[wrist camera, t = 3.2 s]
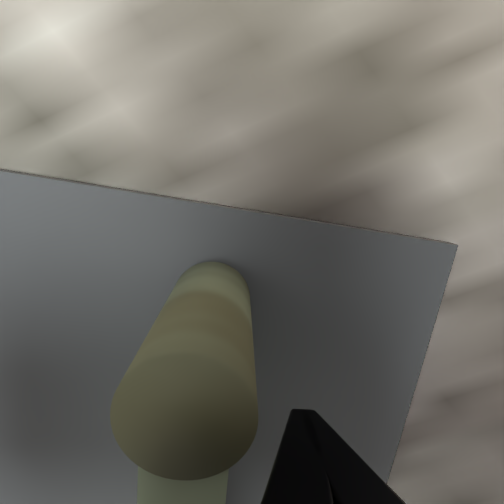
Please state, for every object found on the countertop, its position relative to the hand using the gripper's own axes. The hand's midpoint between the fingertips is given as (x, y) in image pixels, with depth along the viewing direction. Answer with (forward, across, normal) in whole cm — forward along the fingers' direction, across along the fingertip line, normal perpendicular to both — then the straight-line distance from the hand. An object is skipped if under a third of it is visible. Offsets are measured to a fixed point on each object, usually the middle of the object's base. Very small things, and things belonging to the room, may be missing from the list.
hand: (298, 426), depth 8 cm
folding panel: (+1, +2, +2) cm, 3 cm away
